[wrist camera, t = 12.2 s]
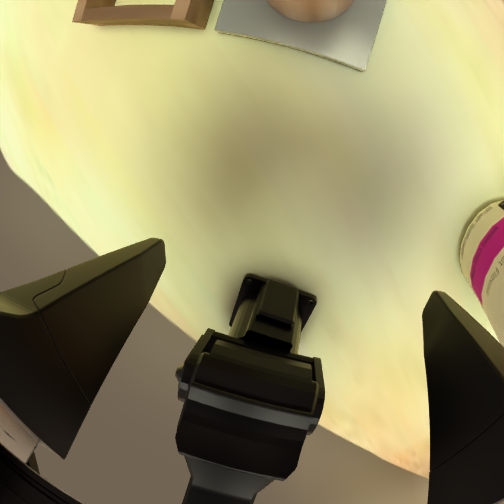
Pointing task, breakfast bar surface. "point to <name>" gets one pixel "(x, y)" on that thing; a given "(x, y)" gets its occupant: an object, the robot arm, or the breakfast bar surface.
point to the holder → (144, 13)
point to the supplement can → (486, 263)
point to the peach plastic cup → (310, 9)
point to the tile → (308, 29)
